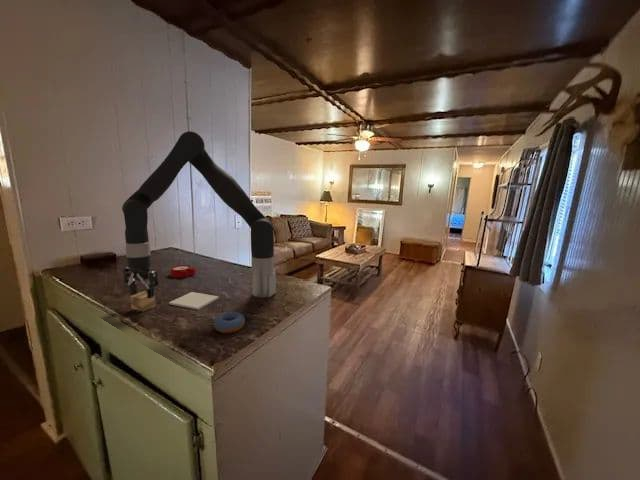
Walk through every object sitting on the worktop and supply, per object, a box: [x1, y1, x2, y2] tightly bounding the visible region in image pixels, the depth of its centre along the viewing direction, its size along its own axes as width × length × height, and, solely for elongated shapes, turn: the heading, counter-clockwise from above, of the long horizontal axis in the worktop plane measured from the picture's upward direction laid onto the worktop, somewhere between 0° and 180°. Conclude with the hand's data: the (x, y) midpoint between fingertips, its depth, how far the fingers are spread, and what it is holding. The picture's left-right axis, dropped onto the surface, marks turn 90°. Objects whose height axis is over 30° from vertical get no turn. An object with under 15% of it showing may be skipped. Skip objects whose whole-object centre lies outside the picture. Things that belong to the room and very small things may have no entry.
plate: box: [168, 291, 220, 311], centre depth 112 cm, size 14×12×1 cm
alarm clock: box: [166, 264, 197, 279], centre depth 144 cm, size 10×6×15 cm
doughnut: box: [213, 311, 246, 334], centre depth 92 cm, size 10×10×5 cm
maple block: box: [129, 290, 157, 312], centre depth 104 cm, size 6×6×6 cm
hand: (142, 295), depth 104 cm, fingers open, 8 cm apart
